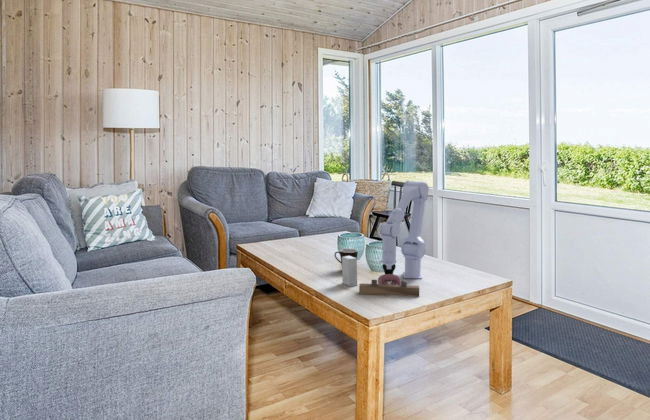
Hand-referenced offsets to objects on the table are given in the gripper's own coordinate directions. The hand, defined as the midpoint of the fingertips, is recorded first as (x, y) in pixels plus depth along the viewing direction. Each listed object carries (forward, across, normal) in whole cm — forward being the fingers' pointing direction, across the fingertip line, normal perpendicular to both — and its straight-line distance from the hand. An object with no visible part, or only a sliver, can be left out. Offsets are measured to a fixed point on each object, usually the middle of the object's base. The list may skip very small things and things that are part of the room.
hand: (388, 281), depth 198 cm
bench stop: (+2, +13, 0) cm, 13 cm away
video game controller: (+2, +5, 0) cm, 5 cm away
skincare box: (+2, +2, -17) cm, 17 cm away
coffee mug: (+2, -21, -20) cm, 29 cm away
